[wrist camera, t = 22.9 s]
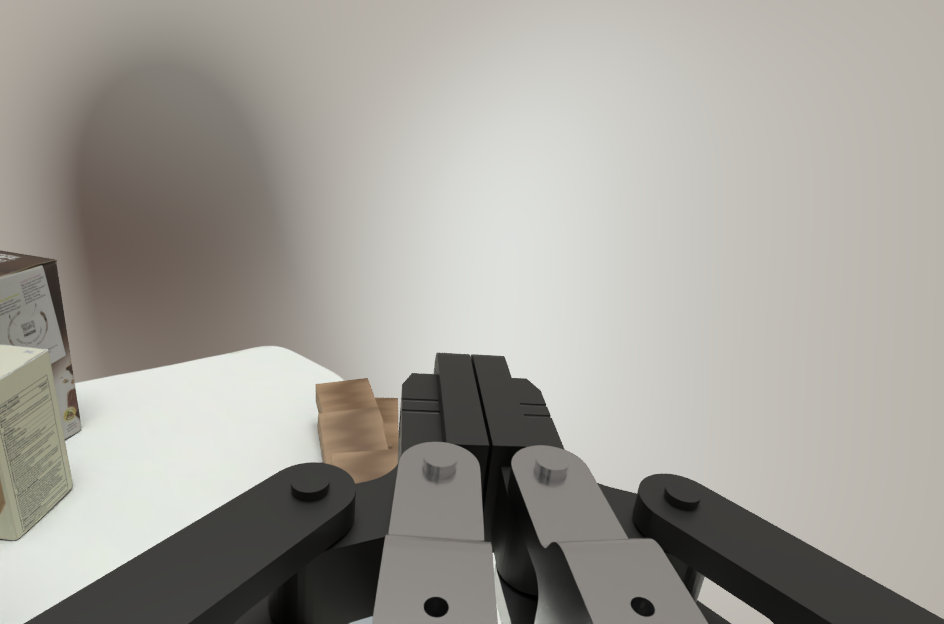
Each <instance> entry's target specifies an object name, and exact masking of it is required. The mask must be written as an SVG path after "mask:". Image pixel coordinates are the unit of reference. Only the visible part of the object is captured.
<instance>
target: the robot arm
mask: <svg viewBox="0 0 944 624" xmlns="http://www.w3.org/2000/svg"><path fill="white" fill-rule="evenodd" d="M492 553H494V554H495V560H496V564H495V570H494V568H493V554H492ZM704 577H707V578H708V579H710V580H711V581H713V582H714V583H716V584H717V585H719V586H720V587H722V588H723V589H725V590H726V591H728V592H729V593H731V594H733V595H734V596H736V597H737V598H739V599H740V600H742V601H743V602H745V603H746V604H748V605H749V606H751V607H752V608H754V609H755V610H757V611H758V612H760V613H762V614H763V615H765V616H766V617H767V618H769V619H770V620H771V621H772V622H773V623H774V624H944V619H942V618H940V617H938V616H937V615H935V614H933V613H931V612H929V611H927V610H926V609H924V608H922V607H920V606H919V605H917V604H915V603H913V602H911V601H910V600H908V599H906V598H904V597H902V596H901V595H899V594H897V593H895V592H893V591H892V590H890V589H888V588H886V587H884V586H883V585H881V584H879V583H877V582H875V581H874V580H872V579H870V578H868V577H866V576H865V575H862V574H861V573H859V572H857V571H856V570H854V569H852V568H850V567H849V566H847V565H845V564H843V563H841V562H839V561H837V560H836V559H834V558H832V557H831V556H829V555H827V554H825V553H823V552H821V551H820V550H818V549H816V548H814V547H812V546H811V545H809V544H807V543H805V542H803V541H802V540H800V539H798V538H796V537H795V536H793V535H791V534H789V533H787V532H785V531H784V530H782V529H780V528H778V527H777V526H774V525H773V524H771V523H769V522H768V521H766V520H764V519H762V518H760V517H759V516H757V515H755V514H753V513H751V512H749V511H748V510H746V509H744V508H742V507H741V506H739V505H737V504H735V503H733V502H732V501H730V500H728V499H726V498H724V497H722V496H721V495H719V494H717V493H715V492H714V491H712V490H710V489H708V488H706V487H705V486H703V485H701V484H699V483H697V482H695V481H693V480H690V479H688V478H685V477H682V476H677V475H673V474H655V475H651V476H648V477H646V478H645V479H643V480H642V481H641V483H640V485H639V489H638V493H637V494H636V493H632V492H628V491H623V490H619V489H615V488H611V487H608V486H604V485H602V484H599V483H596V481H595V479H594V477H593V475H592V473H591V472H590V470H589V468H588V467H587V465H586V464H585V463H584V462H583V461H582V460H581V459H580V458H579V457H577V456H576V455H574V454H573V453H570V452H568V451H566V450H564V448H563V445H562V442H561V440H560V437H559V435H558V432H557V430H556V428H555V425H554V423H553V420H552V418H550V413H549V411H548V408H547V407H546V403H545V401H544V398H543V396H542V393H541V391H540V390H539V389H538V388H537V387H536V386H534V385H533V384H532V383H531V382H530V381H529V380H527V379H521V378H511V375H510V372H509V369H508V366H507V363H506V360H505V357H504V356H491V355H471V356H470V355H469V354H452V353H437V354H436V359H435V368H434V374H417V373H412V374H411V375H410V376H409V378H408V379H407V380H406V381H405V382H404V383H403V384H402V397H401V411H400V423H399V437H398V464H397V465H396V467H395V468H394V469H393V470H391V471H390V472H389V473H387V474H385V475H383V476H382V477H379V478H377V479H374V480H370V481H366V482H361V483H356V484H355V482H354V480H353V478H352V477H351V475H350V474H349V473H347V472H346V471H345V470H343V469H341V468H339V467H337V466H334V465H331V464H326V463H303V464H298V465H294V466H291V467H288V468H285V469H283V470H281V471H279V472H278V473H276V474H274V475H273V476H271V477H269V478H268V479H266V480H264V481H263V482H261V483H259V484H258V485H256V486H254V487H253V488H251V489H249V490H248V491H246V492H244V493H243V494H241V495H239V496H237V497H236V498H234V499H232V500H231V501H229V502H227V503H226V504H224V505H222V506H221V507H219V508H217V509H216V510H214V511H212V512H211V513H209V514H207V515H206V516H204V517H202V518H201V519H199V520H197V521H195V522H194V523H192V524H190V525H189V526H187V527H185V528H184V529H182V530H180V531H179V532H177V533H175V534H174V535H172V536H170V537H169V538H167V539H165V540H164V541H162V542H160V543H159V544H157V545H155V546H154V547H152V548H150V549H148V550H147V551H145V552H143V553H142V554H140V555H138V556H137V557H135V558H133V559H132V560H130V561H128V562H127V563H125V564H123V565H122V566H120V567H118V568H117V569H115V570H113V571H112V572H110V573H108V574H106V575H105V576H103V577H101V578H100V579H98V580H96V581H95V582H93V583H91V584H90V585H88V586H86V587H85V588H83V589H81V590H80V591H78V592H76V593H75V594H73V595H71V596H70V597H68V598H66V599H65V600H63V601H61V602H59V603H58V604H56V605H54V606H53V607H51V608H49V609H48V610H46V611H44V612H43V613H41V614H39V615H38V616H36V617H34V618H33V619H31V620H29V621H28V622H26V623H24V624H350V623H351V622H355V621H358V620H361V619H365V618H368V617H371V616H373V620H372V624H498V622H497V608H498V612H499V616H500V619H501V623H502V624H731V623H729V622H728V621H727V620H725V619H724V618H722V617H721V616H719V615H718V614H716V613H715V612H713V611H712V610H711V609H709V608H708V607H706V606H705V605H703V604H702V603H701V602H699V601H698V600H697V598H698V595H699V592H700V589H701V586H702V583H703V580H704ZM496 604H497V608H496Z"/></svg>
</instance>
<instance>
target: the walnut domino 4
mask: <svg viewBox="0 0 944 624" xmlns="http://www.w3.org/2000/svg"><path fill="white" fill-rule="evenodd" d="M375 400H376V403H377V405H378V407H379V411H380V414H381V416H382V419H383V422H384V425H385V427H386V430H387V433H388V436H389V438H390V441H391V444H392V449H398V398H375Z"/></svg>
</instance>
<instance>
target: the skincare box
mask: <svg viewBox="0 0 944 624" xmlns="http://www.w3.org/2000/svg"><path fill="white" fill-rule="evenodd" d="M72 487H73V483H72V477H71V472H70V466H69V461H68V455H67V450H66V444H65V439H64V433H63V428H62V423H61V417H60V411H59V406H58V400H57V394H56V389H55V384H54V378H53V372H52V367H51V361H50V356H49V351H48V349H38V348H30V347H21V346H12V345H1V344H0V539H6V540H17V539H19V538H20V537H21V536H22V535H23V534H25V533H26V532H27V531H28V530H29V529H30V528H31V527H32V526H33V525H34V524H35V523H36V522H38V521H39V520H40V519H41V518H42V517H43V516H44V515H45V514H46V513H47V512H48V511H49V510H50V509H51V508H52V507H53V506H54V505H55V504H56V503H57V502H58V501H59V500H60V499H61V498H62V497H63V496H64V495H65V494H66V493H67V492H68V491H69V490H70V489H71V488H72Z"/></svg>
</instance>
